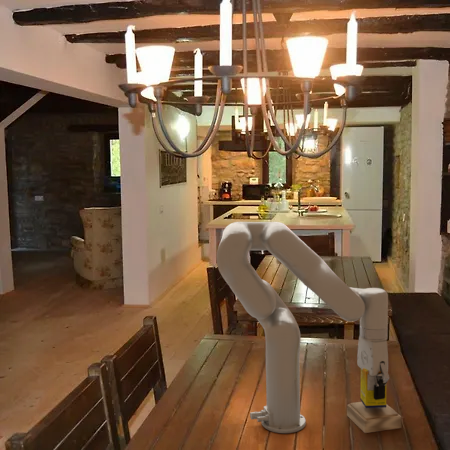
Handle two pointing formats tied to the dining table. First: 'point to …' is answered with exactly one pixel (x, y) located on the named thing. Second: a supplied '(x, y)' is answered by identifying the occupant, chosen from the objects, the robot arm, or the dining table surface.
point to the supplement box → (370, 391)
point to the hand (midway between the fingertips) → (372, 393)
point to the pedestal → (373, 417)
